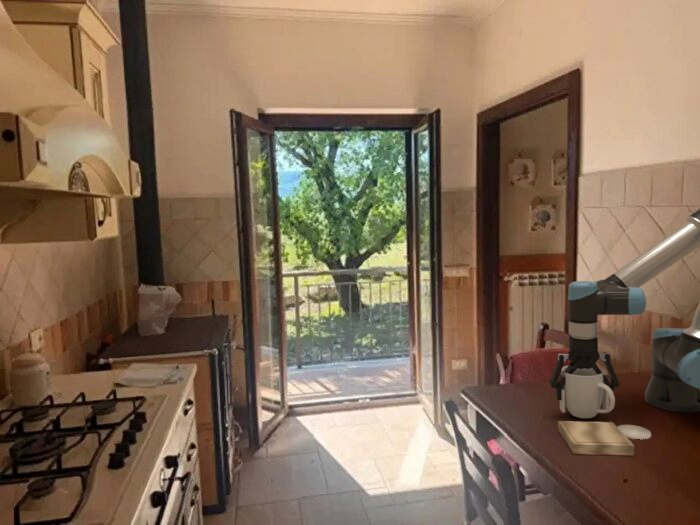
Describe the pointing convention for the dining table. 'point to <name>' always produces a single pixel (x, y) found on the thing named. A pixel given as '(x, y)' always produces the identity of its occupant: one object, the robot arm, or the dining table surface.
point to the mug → (585, 393)
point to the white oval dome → (635, 432)
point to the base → (595, 438)
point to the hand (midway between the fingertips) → (584, 410)
